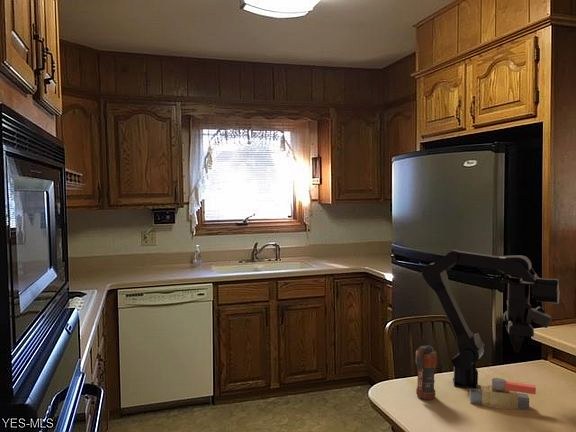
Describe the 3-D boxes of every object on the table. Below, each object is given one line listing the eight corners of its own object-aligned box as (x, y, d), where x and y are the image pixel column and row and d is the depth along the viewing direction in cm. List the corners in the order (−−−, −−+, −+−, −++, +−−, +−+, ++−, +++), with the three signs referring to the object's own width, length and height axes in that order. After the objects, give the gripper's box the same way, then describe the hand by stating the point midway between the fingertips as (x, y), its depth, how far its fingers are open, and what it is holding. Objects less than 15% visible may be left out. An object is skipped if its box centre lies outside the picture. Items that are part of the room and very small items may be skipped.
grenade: (408, 398, 139) (409, 347, 138) (421, 390, 144) (422, 341, 144) (427, 404, 135) (428, 351, 134) (440, 396, 140) (440, 345, 140)
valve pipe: (470, 404, 135) (471, 389, 134) (469, 397, 140) (469, 382, 139) (529, 411, 131) (530, 395, 130) (526, 403, 136) (526, 388, 135)
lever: (491, 389, 134) (492, 381, 134) (491, 384, 137) (492, 377, 137) (535, 395, 130) (536, 387, 130) (534, 390, 133) (534, 383, 133)
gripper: (555, 308, 129) (553, 366, 130) (544, 295, 146) (542, 345, 147) (510, 304, 133) (508, 360, 133) (504, 292, 150) (502, 341, 151)
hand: (516, 351), depth 141 cm, fingers closed
